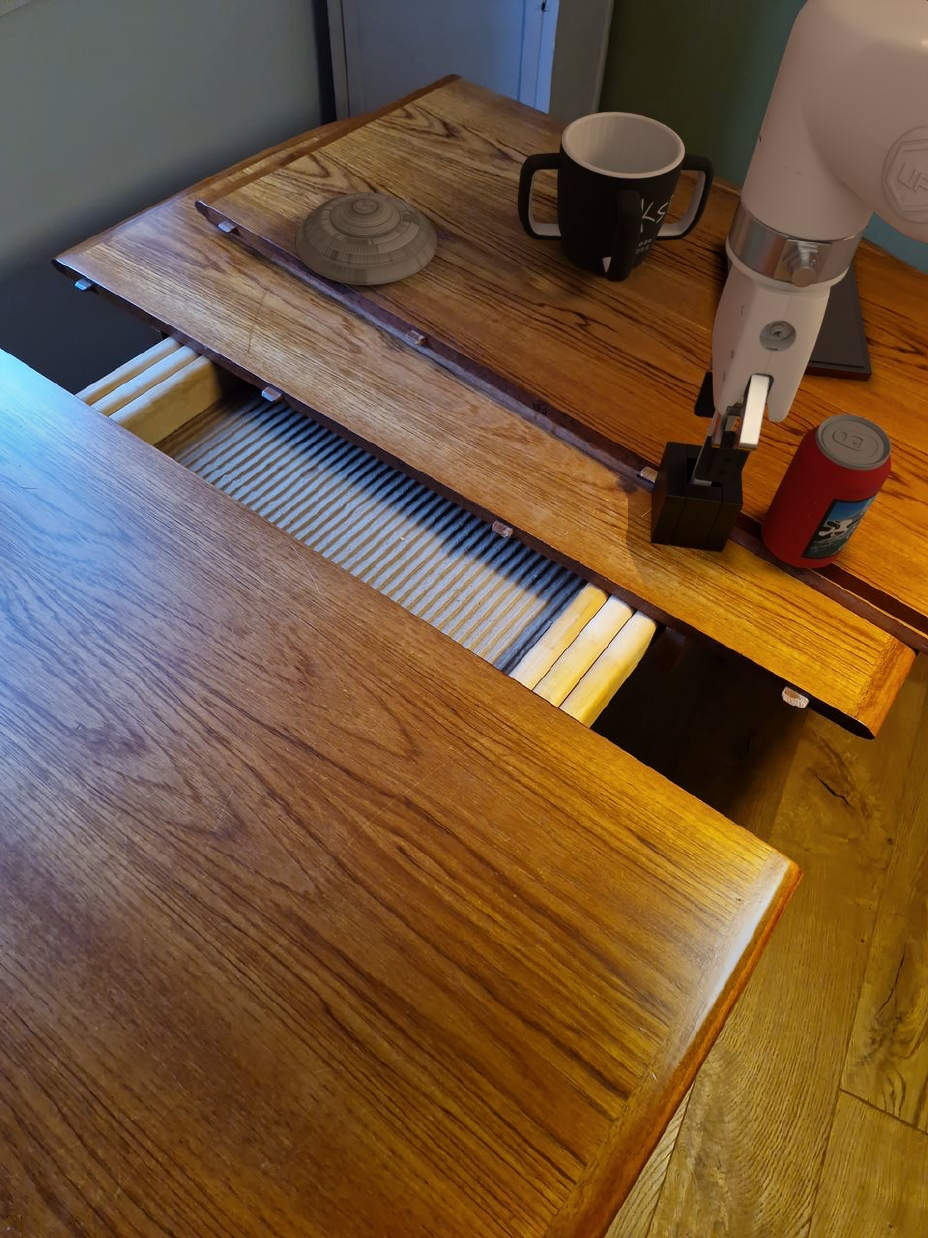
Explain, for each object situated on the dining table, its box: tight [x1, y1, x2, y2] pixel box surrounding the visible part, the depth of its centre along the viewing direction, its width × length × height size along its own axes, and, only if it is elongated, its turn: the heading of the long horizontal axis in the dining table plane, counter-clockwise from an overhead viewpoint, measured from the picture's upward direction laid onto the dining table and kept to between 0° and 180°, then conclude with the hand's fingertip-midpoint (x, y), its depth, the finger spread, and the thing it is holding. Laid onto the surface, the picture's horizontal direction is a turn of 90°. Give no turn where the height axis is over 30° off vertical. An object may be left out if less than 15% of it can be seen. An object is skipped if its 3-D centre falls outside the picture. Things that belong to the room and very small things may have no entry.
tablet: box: [723, 237, 873, 382], centre depth 92 cm, size 14×20×1 cm
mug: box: [517, 111, 715, 283], centre depth 92 cm, size 16×16×12 cm
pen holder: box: [649, 440, 744, 554], centre depth 74 cm, size 6×6×6 cm
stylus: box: [689, 397, 744, 486], centre depth 70 cm, size 1×1×14 cm
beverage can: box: [760, 413, 892, 569], centre depth 70 cm, size 7×7×12 cm
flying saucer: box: [294, 191, 439, 286], centre depth 93 cm, size 15×15×6 cm
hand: (714, 445), depth 69 cm, fingers open, 6 cm apart
